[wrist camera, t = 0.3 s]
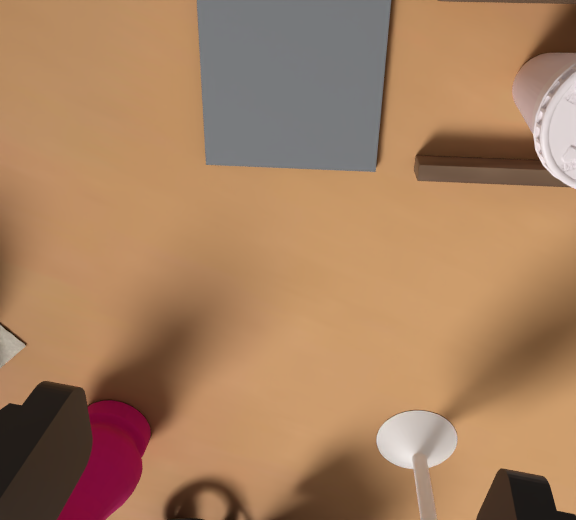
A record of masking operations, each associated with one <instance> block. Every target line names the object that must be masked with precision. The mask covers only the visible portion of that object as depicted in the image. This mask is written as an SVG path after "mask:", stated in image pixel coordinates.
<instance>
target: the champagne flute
mask: <svg viewBox="0 0 576 520" xmlns="http://www.w3.org/2000/svg"><path fill="white" fill-rule="evenodd" d="M456 445H457V433H456V431H455V429H454V427H453V426H452V424H451V423H450V422H449V421H448V420H446V419H445V418H444V417H442V416H440V415H438V414H435V413H432V412H427V411H407V412H403V413H400V414H397V415H395V416H393V417H391V418H390V419H388V420H387V421H386V422H385V423H384V424H383V425H382V426H381V428H380V429H379V431H378V434H377V447H378V449H379V451H380V453H381V454H382V455H383V457H384V458H385V459H387V460H388V461H389V462H391V463H393V464H395V465H397V466H400V467H403V468H409V469H414V476H415V483H416V490H417V498H418V505H419V512H420V519H421V520H437V515H436V509H435V503H434V498H433V492H432V486H431V480H430V474H429V469H428V468H429V467H433V466H435V465H438V464H440V463H442V462H443V461H445V460H446V459H447V458H449V457H450V456H451V454H452V453H453V452H454V450H455V448H456Z"/></svg>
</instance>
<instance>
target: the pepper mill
mask: <svg viewBox="0 0 576 520" xmlns="http://www.w3.org/2000/svg"><path fill="white" fill-rule="evenodd" d="M88 413H89V419H90V425H91V431H92V437H93V443H92V450H91V454H90V458H89V461H88V464H87V466H86V468H85V470H84V472H83V474H82V475H81V477H80V479H79V481H78V483H77V484H76V486H75V488H74V490H73V492H72V493H71V495H70V497H69V499H68V501H67V502H66V504H65V506H64V508H63V510H62V511H61V513H60V515H59V517H58V519H57V520H106V519H107V518H108V517H109V516H110V515H111V514H112V513H113V512H114V511H116V510H117V509H118V508H119V507H120V506H122V505H123V504H124V503H125V501H126V500H127V499H128V498H129V497H130V495H131V494H132V493H133V491H134V490H135V488H136V486H137V484H138V482H139V480H140V477H141V474H142V459H141V457H142V456H143V454H144V452H145V450H146V447H147V445H148V442H149V440H150V436H151V432H150V426H149V424H148V422H147V420H146V418H145V417H144V416H143V415H142V414H141V413H140V412H139V411H138V410H136V409H135V408H133V407H132V406H130V405H127V404H125V403H123V402H118V401H113V400H107V401H100V402H96V403H93V404H91V405H90V406H88Z"/></svg>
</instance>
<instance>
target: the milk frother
mask: <svg viewBox="0 0 576 520" xmlns="http://www.w3.org/2000/svg"><path fill="white" fill-rule="evenodd" d="M170 520H203V519H196V518H183V519H170Z"/></svg>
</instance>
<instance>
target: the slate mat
mask: <svg viewBox="0 0 576 520" xmlns="http://www.w3.org/2000/svg"><path fill="white" fill-rule="evenodd" d="M390 7H391V0H197V12H198V30H199V47H200V65H201V83H202V101H203V118H204V136H205V154H206V165H225V166H249V167H273V168H297V169H321V170H345V171H370V172H375V171H376V161H377V150H378V139H379V128H380V117H381V106H382V95H383V84H384V73H385V62H386V51H387V40H388V29H389V18H390Z"/></svg>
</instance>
